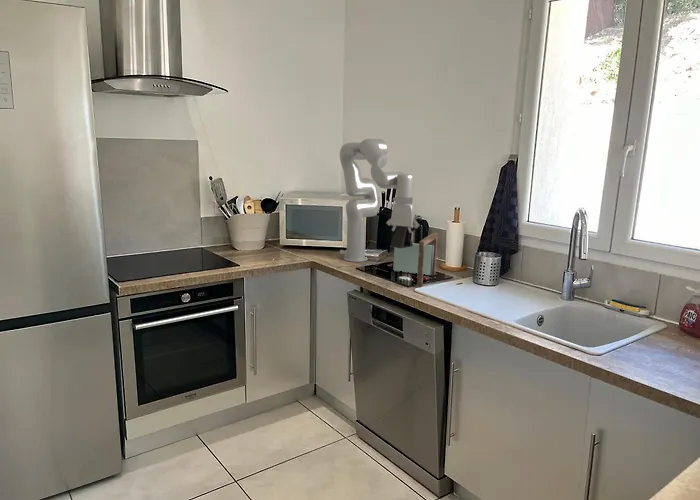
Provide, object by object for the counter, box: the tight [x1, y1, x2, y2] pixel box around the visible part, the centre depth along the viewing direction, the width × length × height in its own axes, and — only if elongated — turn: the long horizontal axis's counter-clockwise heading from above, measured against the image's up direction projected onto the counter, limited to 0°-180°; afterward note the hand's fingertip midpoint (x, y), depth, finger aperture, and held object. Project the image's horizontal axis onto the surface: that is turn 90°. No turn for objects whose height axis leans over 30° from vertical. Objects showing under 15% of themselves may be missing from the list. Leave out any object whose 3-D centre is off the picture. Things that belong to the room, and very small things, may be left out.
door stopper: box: [390, 226, 413, 248], centre depth 244 cm, size 9×6×12 cm, turn 136°
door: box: [392, 242, 434, 276], centre depth 251 cm, size 19×2×14 cm, turn 67°
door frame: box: [416, 231, 439, 288], centre depth 239 cm, size 2×26×20 cm, turn 157°
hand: (402, 239), depth 244 cm, fingers closed on door stopper, 6 cm apart
